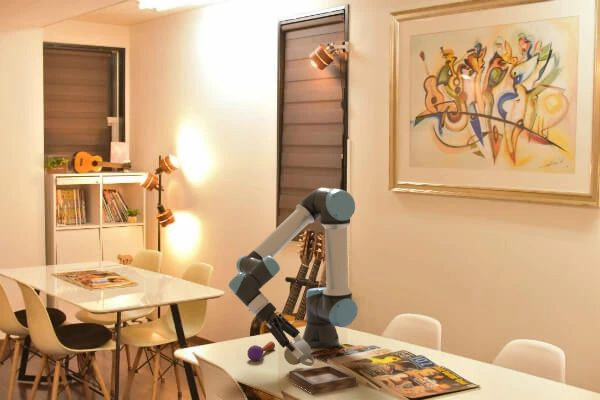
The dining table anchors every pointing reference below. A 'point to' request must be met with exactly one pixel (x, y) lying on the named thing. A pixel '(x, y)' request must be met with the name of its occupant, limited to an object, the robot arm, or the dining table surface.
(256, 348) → the purple maraca
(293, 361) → the ceramic mug
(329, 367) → the brown wooden tray
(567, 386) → the dining table surface
